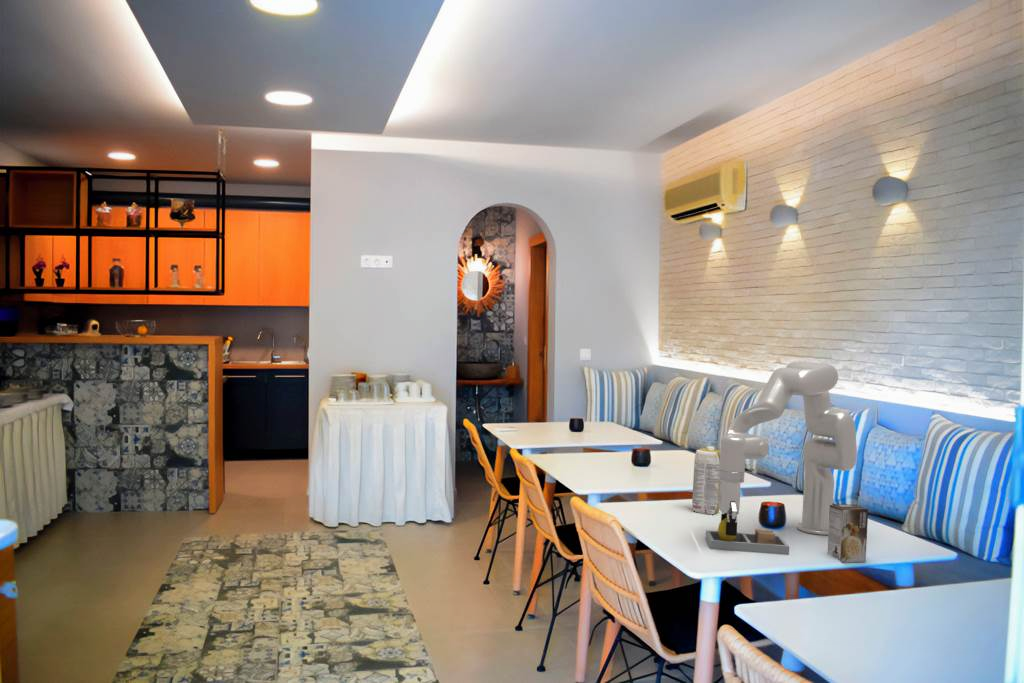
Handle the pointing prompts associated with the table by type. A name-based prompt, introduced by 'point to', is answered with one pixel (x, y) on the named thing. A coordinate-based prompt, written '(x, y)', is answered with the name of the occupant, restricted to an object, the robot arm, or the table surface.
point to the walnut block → (764, 536)
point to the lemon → (724, 531)
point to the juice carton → (706, 481)
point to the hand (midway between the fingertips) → (728, 531)
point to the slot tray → (746, 544)
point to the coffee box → (847, 533)
